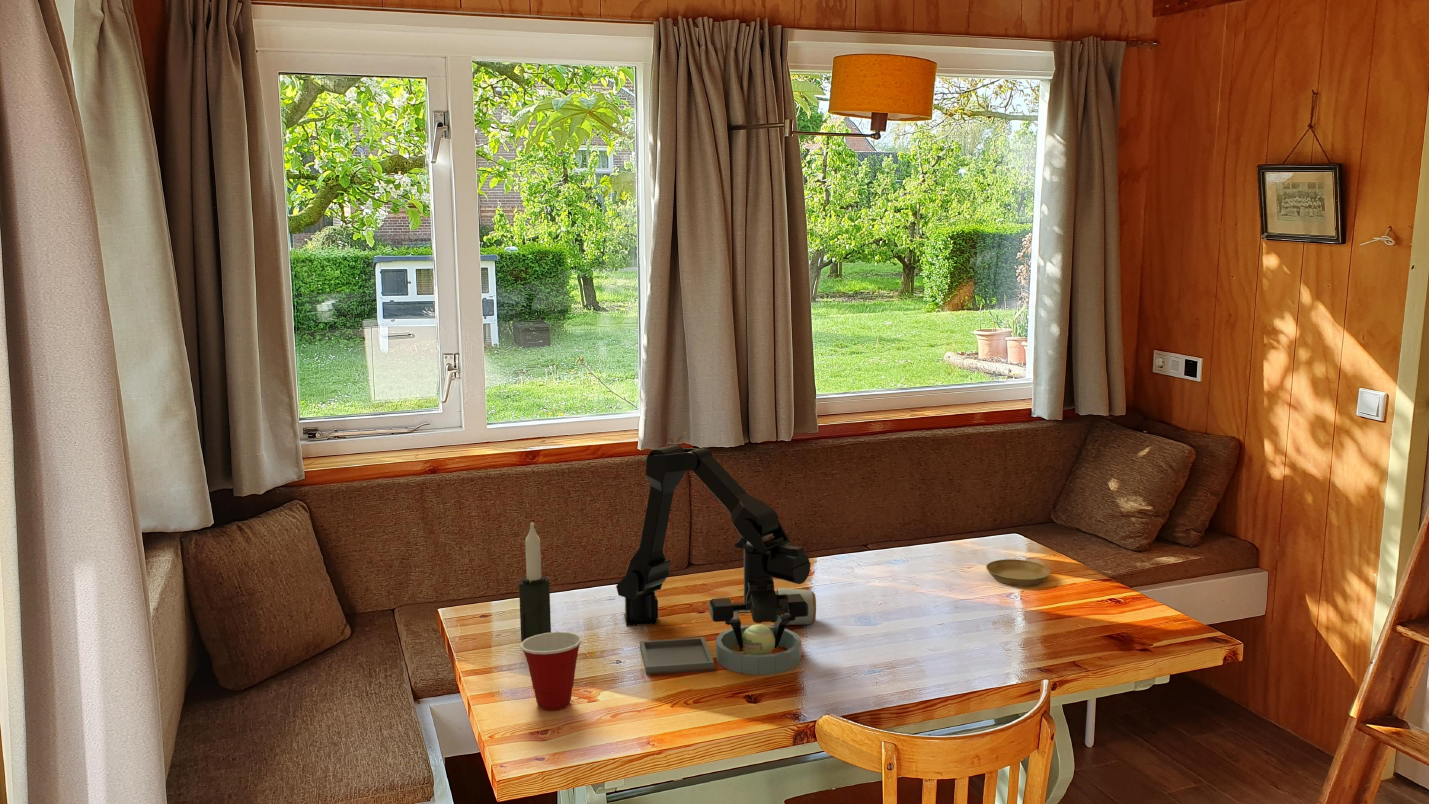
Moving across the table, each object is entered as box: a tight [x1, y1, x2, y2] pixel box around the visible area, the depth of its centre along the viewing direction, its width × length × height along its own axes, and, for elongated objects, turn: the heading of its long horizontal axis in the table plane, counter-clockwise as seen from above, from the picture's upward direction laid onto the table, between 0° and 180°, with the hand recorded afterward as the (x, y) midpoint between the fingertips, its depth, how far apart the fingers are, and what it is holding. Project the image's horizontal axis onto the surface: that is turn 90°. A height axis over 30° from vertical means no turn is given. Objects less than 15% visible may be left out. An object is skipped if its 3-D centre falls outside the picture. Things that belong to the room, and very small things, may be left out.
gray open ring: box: [715, 624, 802, 676], centre depth 214 cm, size 16×16×4 cm
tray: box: [639, 636, 715, 676], centre depth 214 cm, size 13×13×2 cm
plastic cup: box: [519, 631, 583, 712], centre depth 194 cm, size 11×11×12 cm
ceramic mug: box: [775, 587, 817, 626], centre depth 233 cm, size 11×8×8 cm
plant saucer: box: [985, 558, 1052, 587], centre depth 260 cm, size 15×15×3 cm
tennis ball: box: [742, 623, 775, 655], centre depth 214 cm, size 6×7×7 cm
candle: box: [518, 521, 552, 643], centre depth 221 cm, size 5×5×25 cm
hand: (758, 649), depth 214 cm, fingers closed on tennis ball, 6 cm apart
